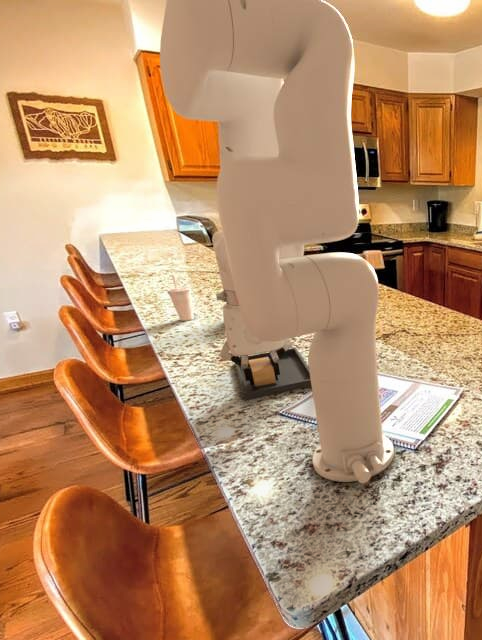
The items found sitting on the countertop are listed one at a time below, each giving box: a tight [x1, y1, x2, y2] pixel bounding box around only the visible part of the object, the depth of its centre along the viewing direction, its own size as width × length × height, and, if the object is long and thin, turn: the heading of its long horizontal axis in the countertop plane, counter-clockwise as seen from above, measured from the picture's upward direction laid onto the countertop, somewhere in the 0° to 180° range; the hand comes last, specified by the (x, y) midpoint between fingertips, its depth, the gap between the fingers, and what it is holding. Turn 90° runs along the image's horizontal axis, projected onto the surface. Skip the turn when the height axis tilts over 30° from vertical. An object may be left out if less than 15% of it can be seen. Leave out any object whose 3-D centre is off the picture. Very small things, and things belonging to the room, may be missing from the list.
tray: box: [234, 347, 312, 402], centre depth 95 cm, size 21×14×2 cm
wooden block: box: [248, 357, 277, 390], centre depth 90 cm, size 7×4×4 cm, turn 30°
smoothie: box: [166, 274, 195, 322], centre depth 133 cm, size 6×6×14 cm
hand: (263, 379), depth 91 cm, fingers closed on wooden block, 4 cm apart
